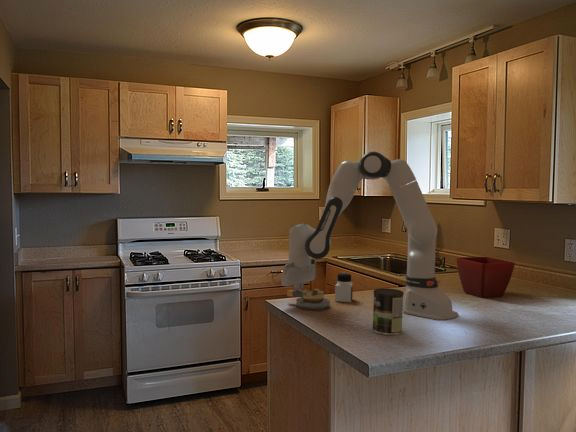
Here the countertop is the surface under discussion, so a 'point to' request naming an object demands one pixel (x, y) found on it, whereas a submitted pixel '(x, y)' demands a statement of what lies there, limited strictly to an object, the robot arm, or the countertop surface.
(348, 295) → the medicine bottle
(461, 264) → the plant pot
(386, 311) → the coffee can
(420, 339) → the countertop surface
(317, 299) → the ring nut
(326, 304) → the plate
